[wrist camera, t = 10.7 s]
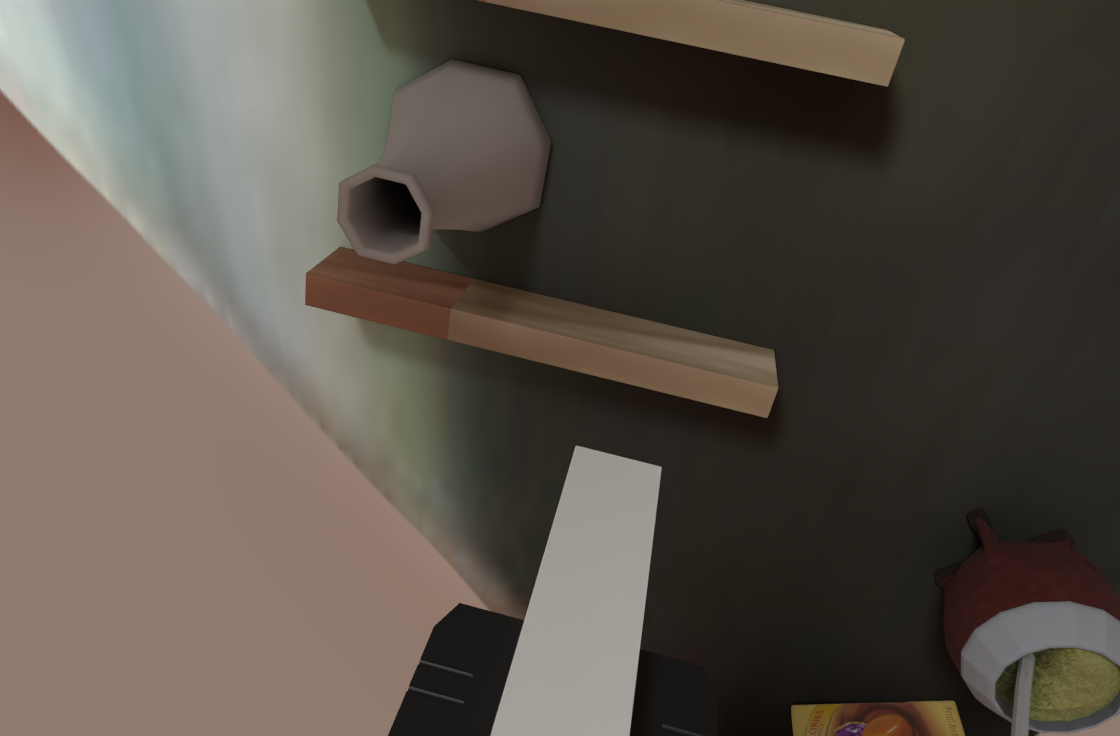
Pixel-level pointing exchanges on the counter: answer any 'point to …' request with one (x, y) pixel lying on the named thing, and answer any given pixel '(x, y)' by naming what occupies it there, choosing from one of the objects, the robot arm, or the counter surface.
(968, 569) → the mate gourd
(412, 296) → the wooden sticks
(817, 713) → the candy box
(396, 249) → the flask
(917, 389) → the counter surface
